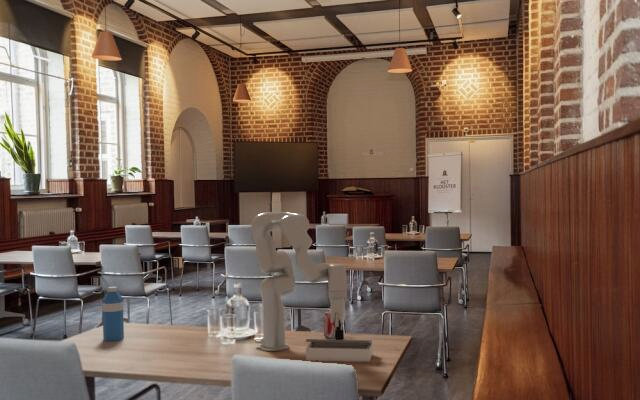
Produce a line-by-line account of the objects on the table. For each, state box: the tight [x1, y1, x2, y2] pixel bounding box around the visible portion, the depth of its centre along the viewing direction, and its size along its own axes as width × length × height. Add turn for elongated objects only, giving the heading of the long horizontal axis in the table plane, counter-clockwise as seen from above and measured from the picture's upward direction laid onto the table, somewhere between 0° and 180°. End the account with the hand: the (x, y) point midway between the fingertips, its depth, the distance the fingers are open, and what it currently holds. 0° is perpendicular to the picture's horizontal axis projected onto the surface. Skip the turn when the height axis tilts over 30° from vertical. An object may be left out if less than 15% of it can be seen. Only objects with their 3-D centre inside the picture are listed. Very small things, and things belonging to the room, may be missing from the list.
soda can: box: [323, 310, 335, 339], centre depth 296 cm, size 7×7×12 cm
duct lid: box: [305, 338, 373, 344], centre depth 260 cm, size 26×11×1 cm, turn 80°
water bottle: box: [102, 286, 125, 342], centre depth 302 cm, size 9×9×25 cm
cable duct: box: [305, 342, 373, 363], centre depth 260 cm, size 26×11×5 cm, turn 80°
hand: (339, 339), depth 256 cm, fingers closed
